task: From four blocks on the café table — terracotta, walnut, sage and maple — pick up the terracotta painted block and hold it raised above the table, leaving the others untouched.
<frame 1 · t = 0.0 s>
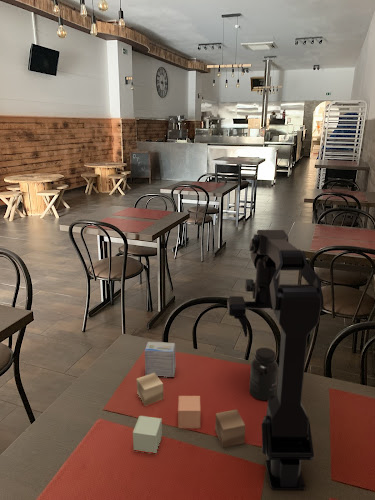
hand: (263, 336, 100), 15 cm above the table, tool pointing down, fingers open, 9 cm apart
supplement bottle: (262, 393, 102), on the table
maple block: (150, 397, 100), on the table
sage painted block: (148, 443, 86), on the table
walnut block: (229, 437, 88), on the table
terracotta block: (189, 420, 92), on the table
medicine box: (160, 373, 110), on the table
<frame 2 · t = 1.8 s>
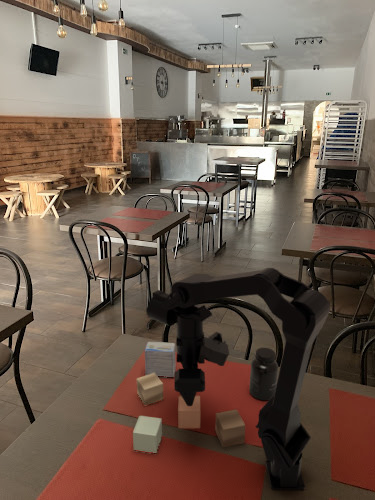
hand: (189, 391, 90), 8 cm above the table, tool pointing down, fingers open, 9 cm apart
nothing on the table moved.
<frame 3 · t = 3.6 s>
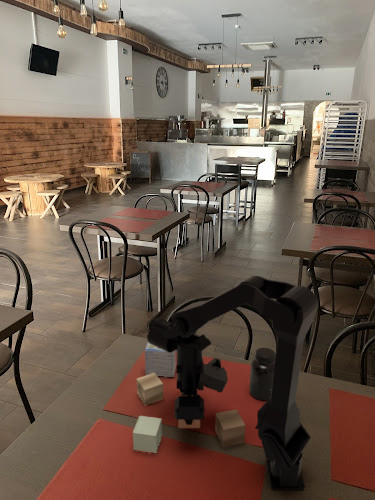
hand: (189, 415, 92), 1 cm above the table, tool pointing down, fingers closed on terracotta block, 5 cm apart
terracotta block: (189, 420, 92), on the table, touching gripper
everything else where it was.
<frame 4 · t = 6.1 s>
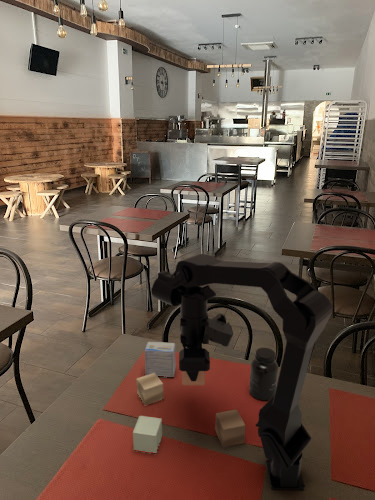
hand: (193, 373, 89), 12 cm above the table, tool pointing down, fingers closed on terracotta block, 5 cm apart
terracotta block: (193, 378, 90), point 11 cm above the table, touching gripper
everything else where it was.
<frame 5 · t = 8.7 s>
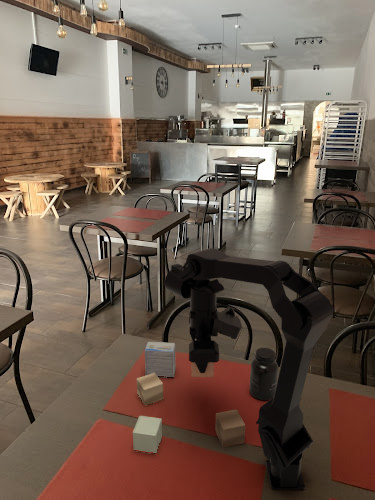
hand: (202, 365, 91), 13 cm above the table, tool pointing down, fingers closed on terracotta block, 5 cm apart
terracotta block: (202, 370, 91), point 12 cm above the table, touching gripper
everything else where it was.
at the end: the gripper is holding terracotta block; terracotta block point 11.7 cm above the table; walnut block moved 0.1 cm from its start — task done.
